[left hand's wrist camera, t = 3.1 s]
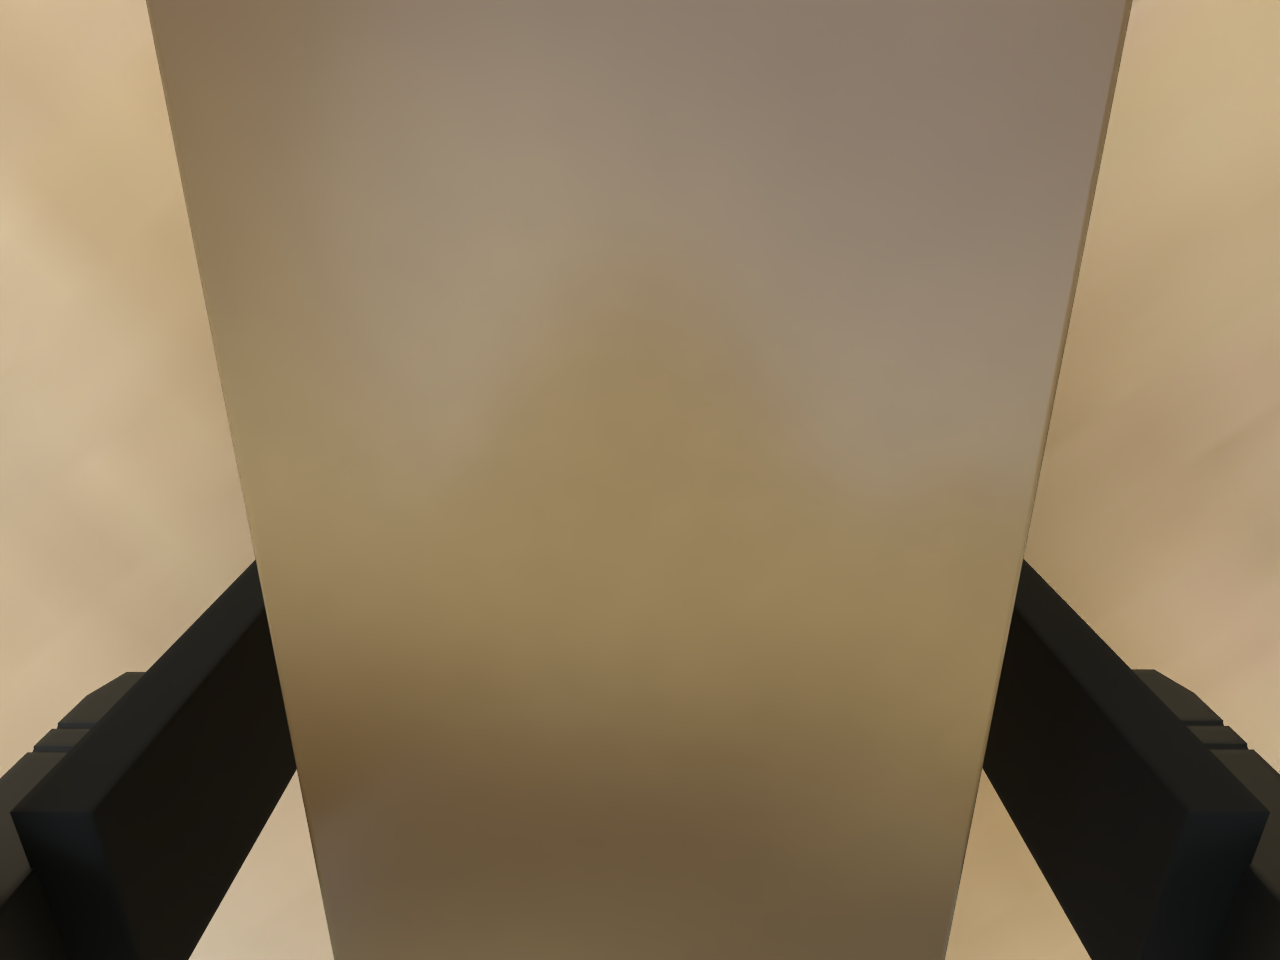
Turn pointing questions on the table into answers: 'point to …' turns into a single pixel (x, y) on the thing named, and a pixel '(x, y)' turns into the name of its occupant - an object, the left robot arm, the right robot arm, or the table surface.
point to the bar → (639, 442)
